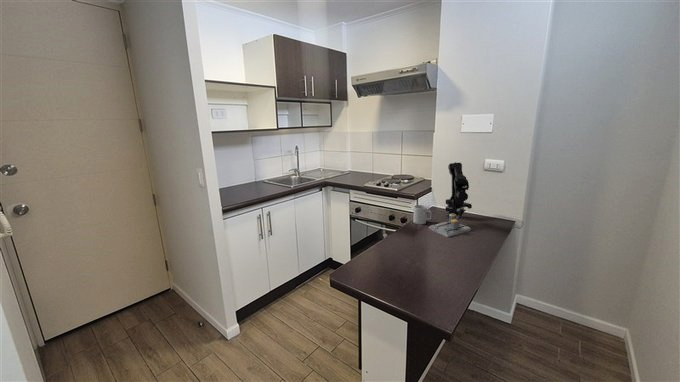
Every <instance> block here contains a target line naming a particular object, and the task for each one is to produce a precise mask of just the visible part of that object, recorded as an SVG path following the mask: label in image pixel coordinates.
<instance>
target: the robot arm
mask: <svg viewBox="0 0 680 382" xmlns="http://www.w3.org/2000/svg"><path fill="white" fill-rule="evenodd" d="M447 167H448V173H449V175H450V176H451V196H450V197H449V198H448V199H445V204H446V205H447V206H445V211H446V212H448V214H447V215H446V217H450V216H449V214H456V217H455V219H456V220H458V221H459V220H460V219H461V217H462V216H463V215H464V213H465V212H466V211H467V210H466V209H465V208H467V209H469V210H470V209H472V208H473V207H472V206H473V205H472V203H469V202H465V201H467V200H468V199H469V194H468V193H467V192H466V191H468V190H469V188H470V185H469V180H468V179H467V177H466V176H465V175H464V173H463V164H462V162H453V163H449V164H448V166H447Z"/></svg>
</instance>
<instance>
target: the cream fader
mask: <svg viewBox="0 0 680 382" xmlns="http://www.w3.org/2000/svg"><path fill="white" fill-rule="evenodd" d="M448 215H449V216H450V217H449V220H448V221H449V222H450V223H451V220H453V219H456V218H455V217H456V214H449V213H448Z"/></svg>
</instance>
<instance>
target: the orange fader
mask: <svg viewBox="0 0 680 382" xmlns="http://www.w3.org/2000/svg"><path fill="white" fill-rule="evenodd" d="M457 223H459V220H457V219H456V218H455V219H453V220H451V229H457Z"/></svg>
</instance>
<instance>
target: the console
mask: <svg viewBox="0 0 680 382" xmlns="http://www.w3.org/2000/svg"><path fill="white" fill-rule="evenodd" d="M428 230H429V231H433V232H434V233H437V234H439V235H441V236H444V237H446V238H449V237H453V236H457V235H459V234H463V233H466V232H467V233H468V232H469V231H471V227H469V226H468V225H464V224H462V223H459V222H457V229H451V223H450V222H449V220H448V221H444V222H443V221H442V222H439V223H437V224H432V225H429V226H428Z"/></svg>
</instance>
